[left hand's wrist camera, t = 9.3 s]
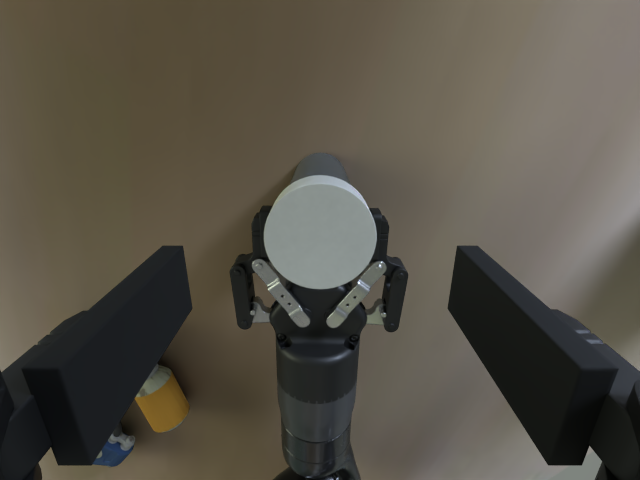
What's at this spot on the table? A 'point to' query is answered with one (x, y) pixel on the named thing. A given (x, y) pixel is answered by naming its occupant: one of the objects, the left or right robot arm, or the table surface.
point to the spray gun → (149, 414)
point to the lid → (320, 232)
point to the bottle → (320, 167)
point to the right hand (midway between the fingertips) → (320, 209)
